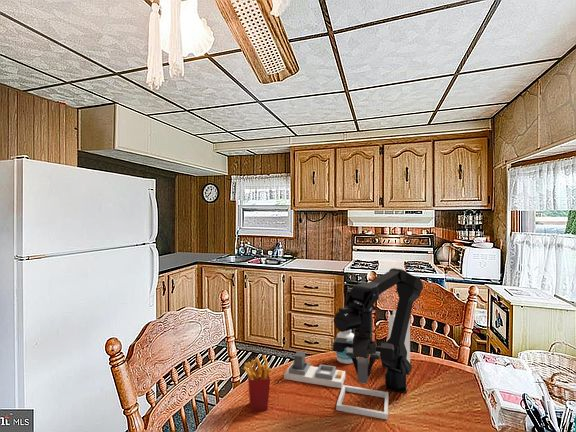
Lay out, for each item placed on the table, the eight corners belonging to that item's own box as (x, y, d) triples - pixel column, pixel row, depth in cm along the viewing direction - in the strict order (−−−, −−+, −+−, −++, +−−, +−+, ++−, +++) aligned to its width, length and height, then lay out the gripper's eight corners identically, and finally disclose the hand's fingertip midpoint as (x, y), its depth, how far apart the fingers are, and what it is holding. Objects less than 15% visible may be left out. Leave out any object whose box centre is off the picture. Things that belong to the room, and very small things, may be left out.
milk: (410, 367, 130) (410, 311, 130) (396, 369, 128) (397, 312, 128) (400, 360, 136) (401, 307, 136) (388, 362, 134) (388, 308, 134)
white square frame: (388, 396, 108) (388, 392, 108) (387, 419, 96) (387, 414, 96) (342, 389, 113) (342, 384, 113) (336, 410, 100) (336, 405, 100)
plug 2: (368, 377, 106) (368, 358, 106) (367, 383, 102) (367, 364, 102) (359, 375, 107) (359, 357, 107) (357, 382, 103) (357, 362, 103)
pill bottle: (356, 364, 132) (356, 331, 132) (337, 364, 132) (338, 330, 132) (353, 357, 139) (353, 325, 140) (335, 356, 140) (335, 325, 140)
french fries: (270, 411, 99) (271, 361, 100) (243, 414, 98) (243, 364, 98) (266, 396, 108) (266, 350, 108) (241, 399, 106) (241, 352, 106)
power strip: (345, 376, 122) (345, 367, 122) (341, 388, 113) (341, 378, 113) (291, 368, 129) (291, 359, 129) (284, 378, 120) (284, 369, 120)
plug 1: (305, 367, 125) (305, 352, 125) (301, 373, 120) (301, 356, 120) (297, 366, 125) (297, 350, 126) (294, 371, 121) (294, 355, 121)
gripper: (329, 330, 100) (329, 381, 100) (393, 337, 94) (393, 392, 94) (335, 319, 110) (335, 366, 110) (394, 325, 104) (394, 374, 104)
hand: (363, 374), depth 104 cm, fingers closed on plug 2, 3 cm apart
